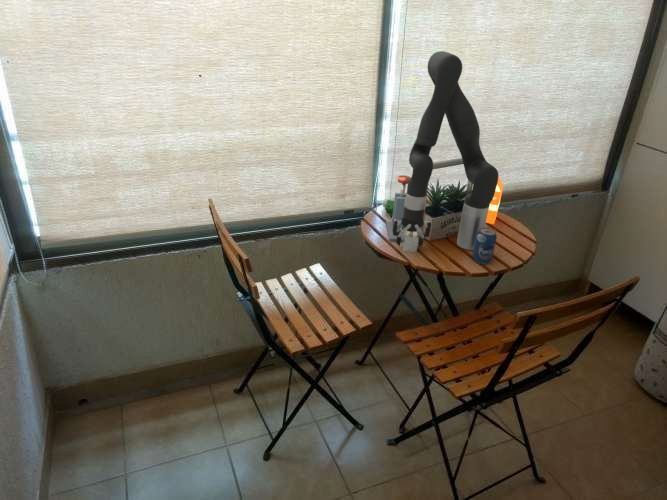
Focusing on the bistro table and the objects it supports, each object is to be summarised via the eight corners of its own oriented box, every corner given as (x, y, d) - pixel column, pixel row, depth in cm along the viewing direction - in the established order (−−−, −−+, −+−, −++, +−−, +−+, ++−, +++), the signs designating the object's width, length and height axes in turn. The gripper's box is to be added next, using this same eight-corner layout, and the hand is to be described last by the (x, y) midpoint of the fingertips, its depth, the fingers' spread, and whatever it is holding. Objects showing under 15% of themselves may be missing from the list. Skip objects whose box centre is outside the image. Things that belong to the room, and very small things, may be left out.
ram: (406, 207, 207) (410, 175, 200) (407, 212, 202) (411, 180, 196) (393, 206, 206) (397, 175, 200) (395, 211, 202) (398, 179, 196)
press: (409, 224, 211) (413, 193, 204) (414, 242, 197) (419, 209, 190) (385, 223, 211) (389, 192, 204) (389, 241, 197) (393, 208, 190)
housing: (414, 245, 195) (417, 228, 191) (416, 251, 190) (418, 234, 187) (401, 245, 194) (403, 228, 191) (403, 251, 190) (405, 234, 187)
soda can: (477, 265, 183) (484, 236, 177) (468, 256, 189) (474, 227, 183) (494, 264, 185) (501, 234, 179) (485, 255, 191) (491, 226, 185)
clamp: (388, 225, 220) (380, 208, 215) (390, 217, 224) (383, 200, 219) (414, 220, 214) (407, 203, 209) (416, 212, 218) (409, 195, 214)
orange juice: (475, 220, 218) (484, 176, 209) (478, 213, 225) (487, 170, 216) (494, 224, 216) (504, 179, 206) (496, 216, 223) (506, 173, 213)
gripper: (432, 202, 187) (426, 241, 195) (394, 200, 187) (389, 240, 195) (436, 210, 181) (429, 251, 189) (396, 208, 180) (391, 249, 188)
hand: (409, 245), depth 192 cm, fingers open, 7 cm apart
